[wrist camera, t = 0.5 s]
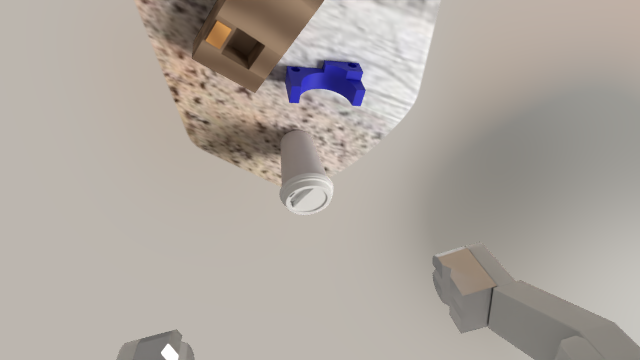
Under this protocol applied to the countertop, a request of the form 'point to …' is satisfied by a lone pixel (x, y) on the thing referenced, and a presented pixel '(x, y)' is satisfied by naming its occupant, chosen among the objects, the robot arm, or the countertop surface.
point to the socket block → (250, 37)
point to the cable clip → (326, 80)
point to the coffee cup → (303, 175)
